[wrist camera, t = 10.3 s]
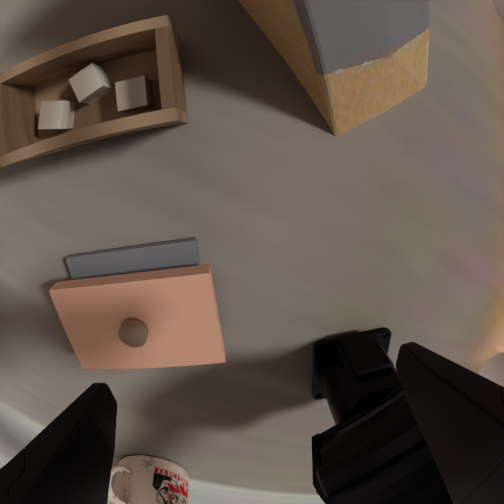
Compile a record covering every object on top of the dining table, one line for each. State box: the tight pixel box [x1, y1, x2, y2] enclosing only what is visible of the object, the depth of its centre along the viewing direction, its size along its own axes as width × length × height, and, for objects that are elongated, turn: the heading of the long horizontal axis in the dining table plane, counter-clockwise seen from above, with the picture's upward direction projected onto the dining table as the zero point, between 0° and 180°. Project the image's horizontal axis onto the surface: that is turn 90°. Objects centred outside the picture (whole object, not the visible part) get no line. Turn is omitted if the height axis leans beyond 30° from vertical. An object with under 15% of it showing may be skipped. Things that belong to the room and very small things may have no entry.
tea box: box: [0, 15, 188, 168], centre depth 13 cm, size 10×5×4 cm, turn 95°
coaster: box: [65, 237, 200, 280], centre depth 20 cm, size 9×9×1 cm
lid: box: [49, 264, 225, 369], centre depth 19 cm, size 11×7×3 cm, turn 95°
